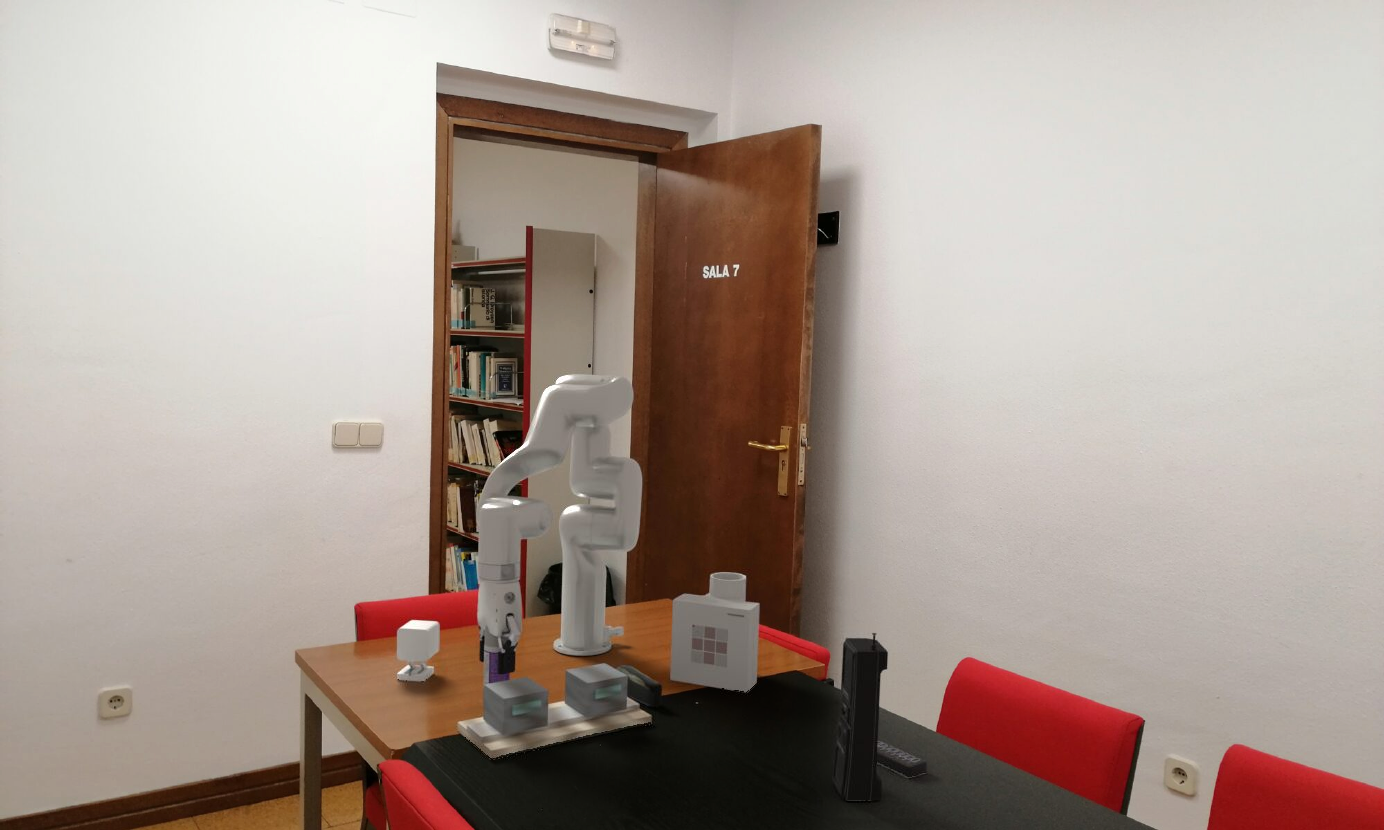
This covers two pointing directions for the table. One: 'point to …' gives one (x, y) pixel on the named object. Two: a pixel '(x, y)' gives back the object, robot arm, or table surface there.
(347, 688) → the table surface
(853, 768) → the portable radio
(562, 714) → the rail panel
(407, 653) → the security camera
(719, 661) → the white square bottle
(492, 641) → the container
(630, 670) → the dark grey rounded bar
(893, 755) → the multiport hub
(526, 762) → the table surface
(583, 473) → the robot arm
